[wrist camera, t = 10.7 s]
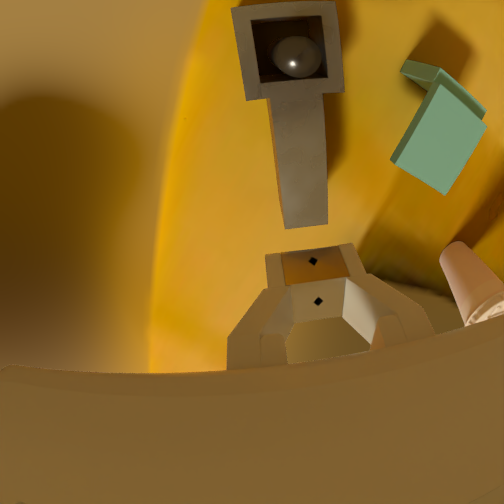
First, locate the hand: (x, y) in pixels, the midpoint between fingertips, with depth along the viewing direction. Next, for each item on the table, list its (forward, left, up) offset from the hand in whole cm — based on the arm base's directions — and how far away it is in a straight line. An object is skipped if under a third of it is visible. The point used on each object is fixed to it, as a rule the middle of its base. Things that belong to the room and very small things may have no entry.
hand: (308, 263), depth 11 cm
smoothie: (-18, +14, -14) cm, 27 cm away
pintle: (-1, -6, -14) cm, 15 cm away
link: (-1, -2, -14) cm, 14 cm away
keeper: (-11, -1, -14) cm, 17 cm away
